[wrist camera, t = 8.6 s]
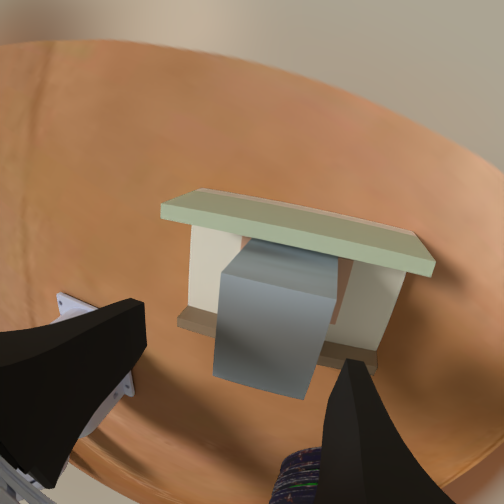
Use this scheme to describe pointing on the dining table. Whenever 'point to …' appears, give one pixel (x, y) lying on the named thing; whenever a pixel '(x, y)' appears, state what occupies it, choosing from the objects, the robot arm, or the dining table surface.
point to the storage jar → (298, 478)
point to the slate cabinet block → (274, 316)
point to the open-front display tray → (307, 237)
